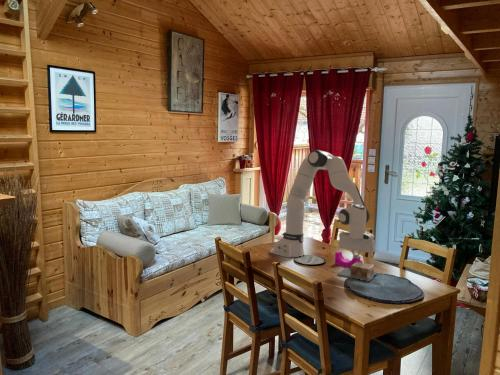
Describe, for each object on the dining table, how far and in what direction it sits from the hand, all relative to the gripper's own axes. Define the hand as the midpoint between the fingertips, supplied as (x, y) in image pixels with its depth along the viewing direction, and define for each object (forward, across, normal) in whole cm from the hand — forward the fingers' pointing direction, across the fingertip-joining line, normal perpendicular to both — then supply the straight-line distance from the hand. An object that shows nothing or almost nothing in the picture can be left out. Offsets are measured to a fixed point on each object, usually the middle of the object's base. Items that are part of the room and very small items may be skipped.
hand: (355, 257), depth 230 cm
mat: (+9, +2, 0) cm, 10 cm away
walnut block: (+6, -1, 0) cm, 6 cm away
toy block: (+10, -9, +13) cm, 18 cm away
